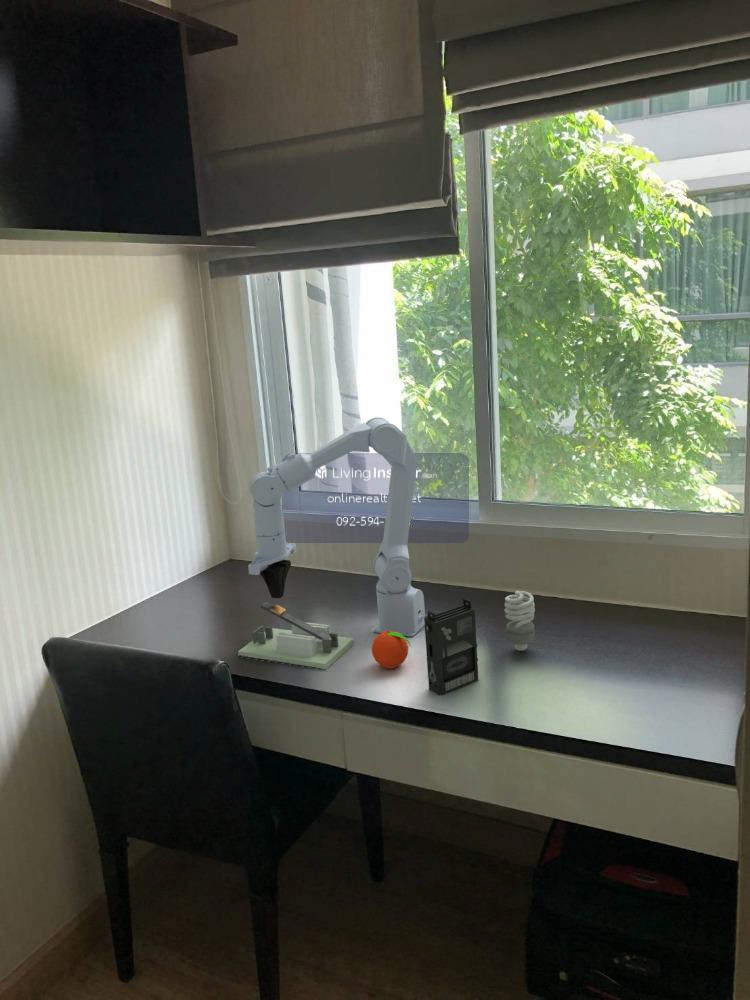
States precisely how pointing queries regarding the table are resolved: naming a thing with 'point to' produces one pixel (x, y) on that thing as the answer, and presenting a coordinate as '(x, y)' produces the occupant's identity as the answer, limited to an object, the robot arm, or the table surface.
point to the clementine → (390, 649)
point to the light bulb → (520, 619)
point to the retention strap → (295, 621)
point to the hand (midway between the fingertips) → (277, 596)
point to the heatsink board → (296, 646)
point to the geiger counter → (451, 648)
